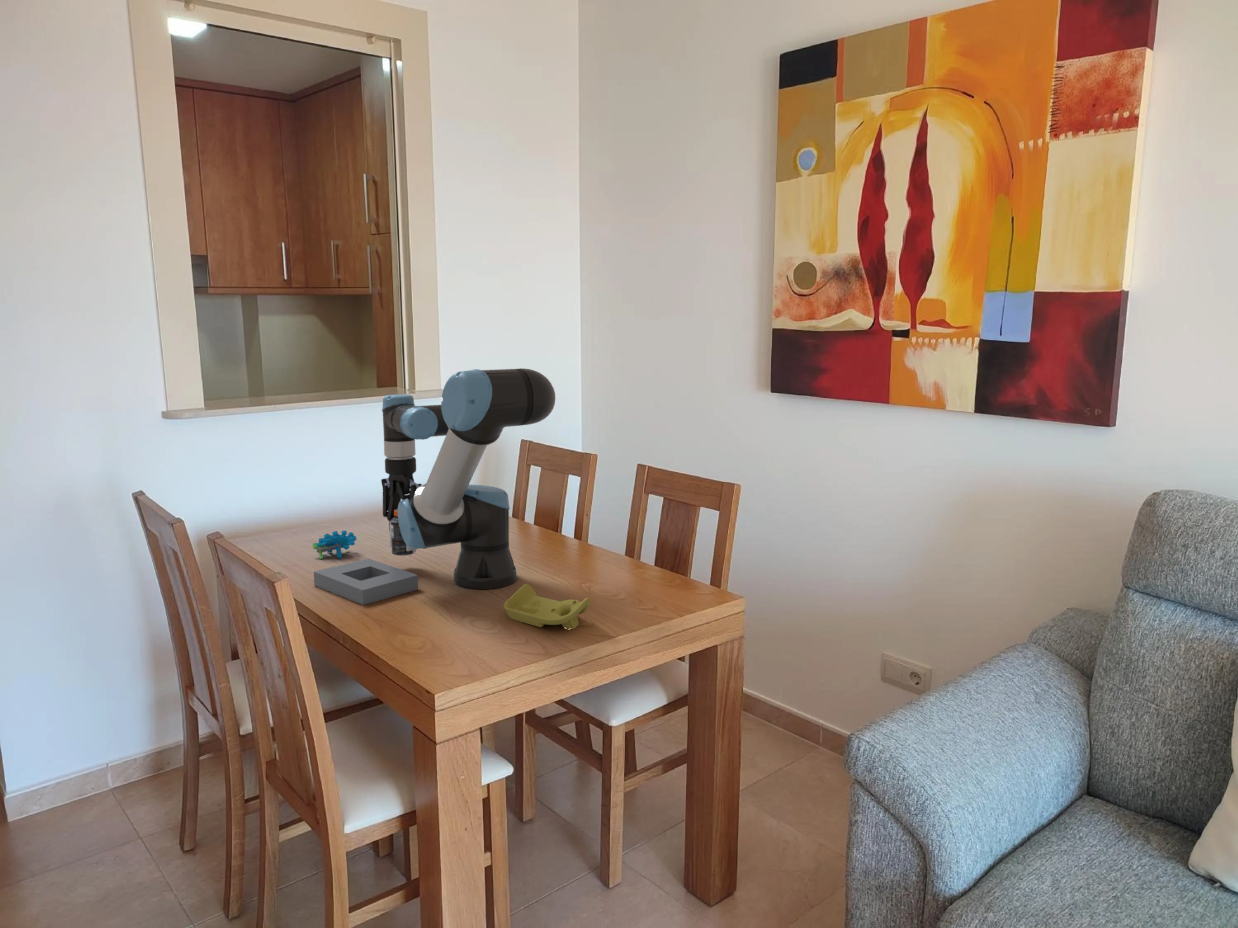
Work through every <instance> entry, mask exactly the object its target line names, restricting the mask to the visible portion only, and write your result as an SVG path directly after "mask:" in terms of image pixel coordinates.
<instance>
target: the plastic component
mask: <svg viewBox="0 0 1238 928" xmlns="http://www.w3.org/2000/svg"><path fill="white" fill-rule="evenodd" d="M590 606H591V598H588V597H585V598H584V599H583V600H582V601H579V600H578V599H564V600H562V601H559V600H555V599H551V598H547V597H542V596H539V595H538V594H537V592H536V591H535V590H534V588H533V587H532V586H531V584H528V583H524V584H523V585H522V586H521V587H520V588H518V589H517V590H516V591H515V592H514V593H513V594H512V595H511V596H510V597H509V598H508V599H507V600H506V601H505V602H504V603H503V608H504V611H505V612H506V615H507V616H508V618H509V617H510V618H509V619H511V620H513V619H515V620H514V621H516V620H517V622H520V623H523V622H524V623H523V624H528V625H531V626H533V627H534V626H535V627H538V628H543V627H544V626H545V625H549V626H550V625H551V626H556V625H562V628H563V627H566V628H567V629H569V628H573V629H572V630H575V629H576V628H577V627H578V626H579V625H580V624H579V619H578V617H577V616H578V615H581V614H583V613H585V612H586V611H587V610H588V609H589V608H590ZM574 628H575V629H574ZM567 629H566V630H567Z"/></svg>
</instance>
